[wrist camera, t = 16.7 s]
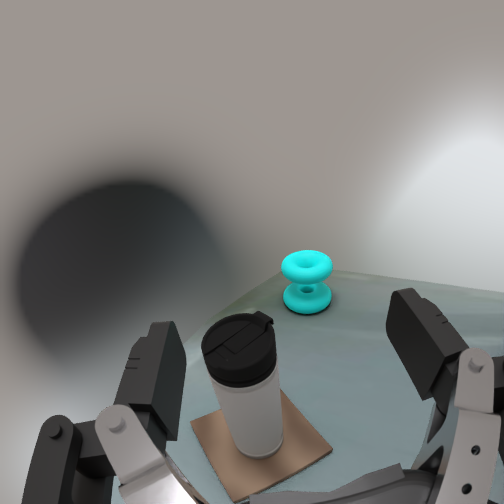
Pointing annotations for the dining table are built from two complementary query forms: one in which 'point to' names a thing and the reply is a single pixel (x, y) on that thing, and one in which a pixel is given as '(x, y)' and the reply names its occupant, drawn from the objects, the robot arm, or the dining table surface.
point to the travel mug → (246, 381)
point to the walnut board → (259, 470)
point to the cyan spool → (307, 281)
